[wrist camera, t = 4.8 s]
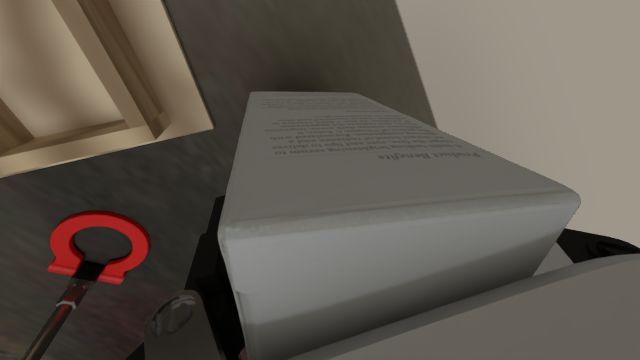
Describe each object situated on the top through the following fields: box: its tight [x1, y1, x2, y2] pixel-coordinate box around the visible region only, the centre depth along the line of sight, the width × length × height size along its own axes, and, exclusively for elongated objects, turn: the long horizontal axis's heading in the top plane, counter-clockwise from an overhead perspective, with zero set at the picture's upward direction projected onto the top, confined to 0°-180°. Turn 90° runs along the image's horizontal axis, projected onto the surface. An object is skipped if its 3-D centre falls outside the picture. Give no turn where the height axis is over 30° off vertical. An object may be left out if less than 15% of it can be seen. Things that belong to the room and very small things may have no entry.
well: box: [0, 0, 214, 178], centre depth 16 cm, size 18×16×5 cm
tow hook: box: [20, 211, 150, 360], centre depth 22 cm, size 8×13×9 cm
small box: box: [218, 92, 581, 360], centre depth 9 cm, size 8×6×10 cm
